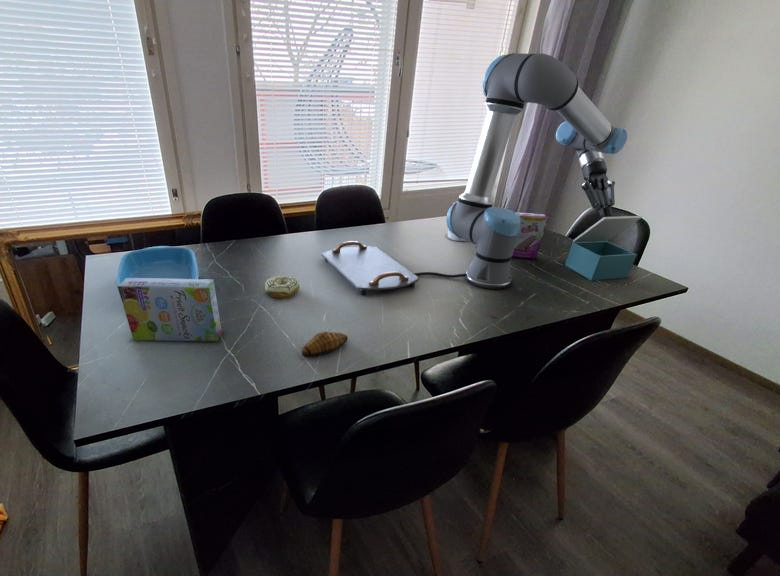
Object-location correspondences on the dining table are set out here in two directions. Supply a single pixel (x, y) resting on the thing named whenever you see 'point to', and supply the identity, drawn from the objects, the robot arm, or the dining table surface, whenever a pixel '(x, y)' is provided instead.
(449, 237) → the toilet tissue
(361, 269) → the serving tray
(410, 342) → the dining table surface
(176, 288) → the snack box
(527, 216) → the candy bar box
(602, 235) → the lid
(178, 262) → the casserole dish
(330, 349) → the croissant
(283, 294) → the decorated donut
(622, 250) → the tote
